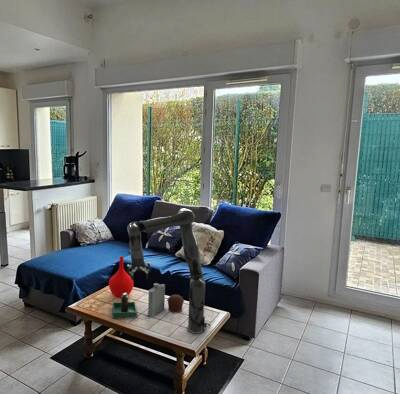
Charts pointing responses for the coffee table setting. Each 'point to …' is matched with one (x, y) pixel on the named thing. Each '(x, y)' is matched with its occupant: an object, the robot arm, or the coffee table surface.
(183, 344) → the coffee table surface
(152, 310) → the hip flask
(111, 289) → the vase
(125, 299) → the pepper mill
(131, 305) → the tray
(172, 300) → the muffin
